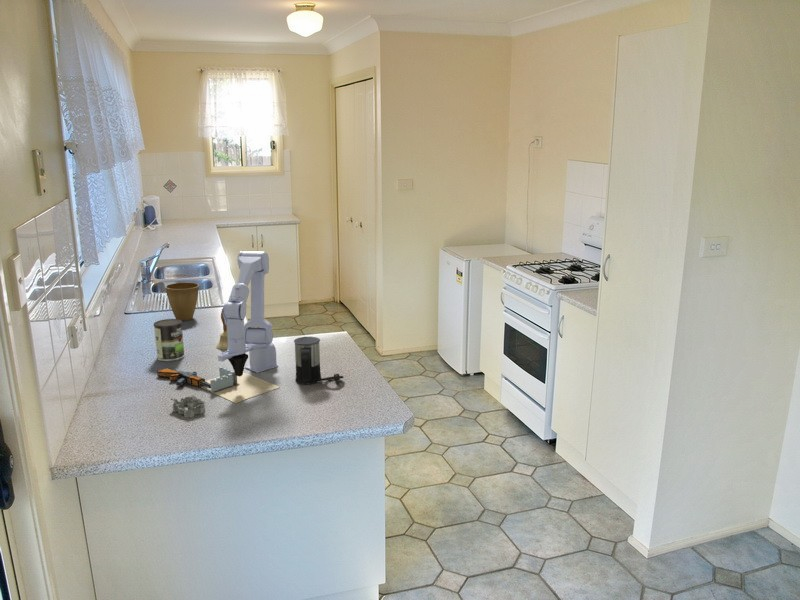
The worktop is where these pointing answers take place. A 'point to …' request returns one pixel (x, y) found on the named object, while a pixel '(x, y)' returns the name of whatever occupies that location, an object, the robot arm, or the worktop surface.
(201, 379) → the toy
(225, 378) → the fence hinged panel
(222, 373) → the fence fixed panel
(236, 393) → the card
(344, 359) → the worktop surface
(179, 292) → the plant pot
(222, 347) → the hand bell
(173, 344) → the coffee can
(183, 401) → the grey rock
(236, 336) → the robot arm
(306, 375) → the milk frother
